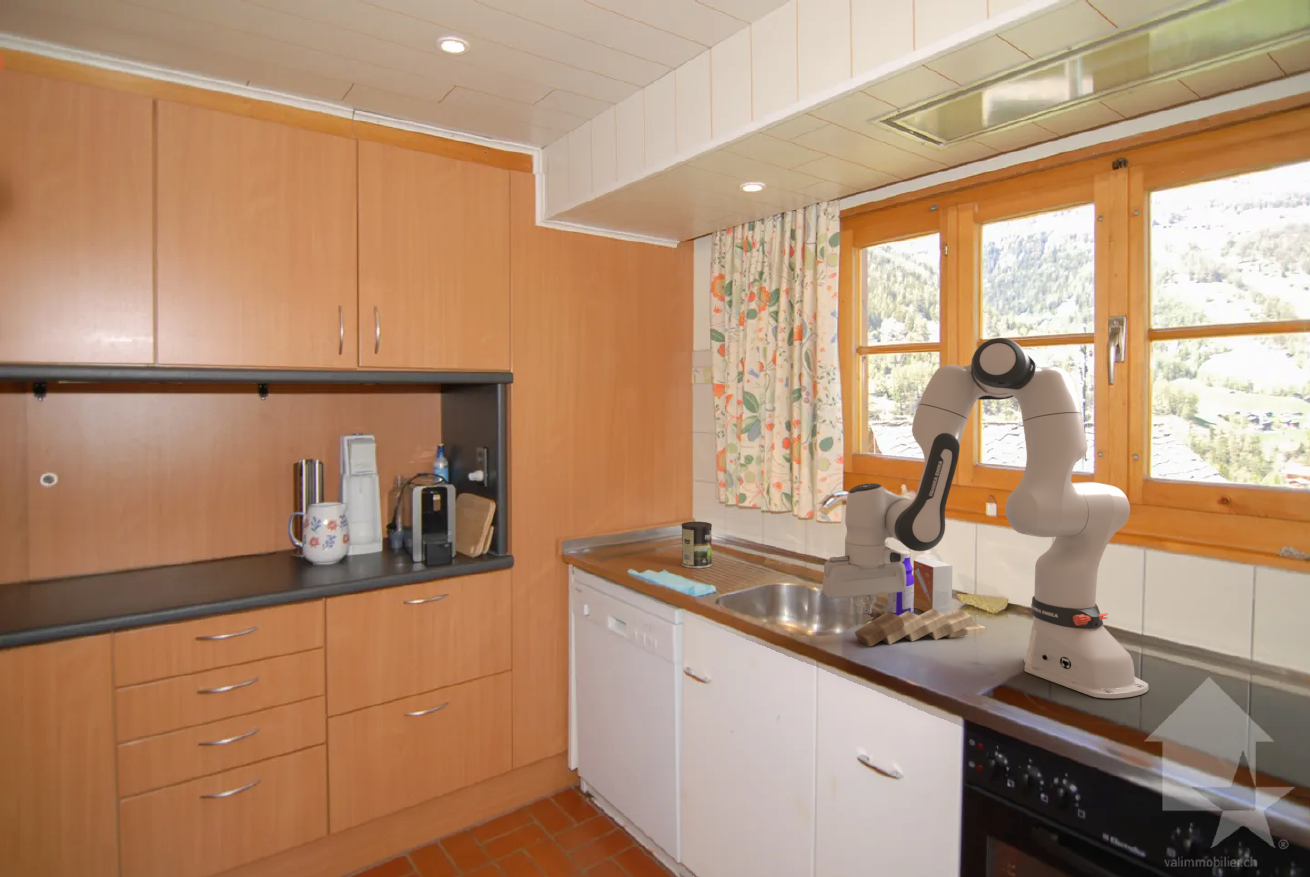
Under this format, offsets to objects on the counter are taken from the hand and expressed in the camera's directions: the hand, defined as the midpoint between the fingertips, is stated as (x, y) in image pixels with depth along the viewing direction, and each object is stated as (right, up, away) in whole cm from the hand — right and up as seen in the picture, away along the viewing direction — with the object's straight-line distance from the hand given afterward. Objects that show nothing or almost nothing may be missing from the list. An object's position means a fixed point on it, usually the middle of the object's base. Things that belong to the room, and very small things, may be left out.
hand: (864, 613), depth 160 cm
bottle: (+15, -6, +18) cm, 25 cm away
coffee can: (-34, -3, +76) cm, 84 cm away
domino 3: (+11, -6, +4) cm, 13 cm away
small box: (+26, -6, +25) cm, 36 cm away
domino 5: (+21, -6, +6) cm, 23 cm away
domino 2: (+5, -6, +2) cm, 8 cm away
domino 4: (+17, -6, +5) cm, 18 cm away
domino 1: (0, -6, 0) cm, 6 cm away
